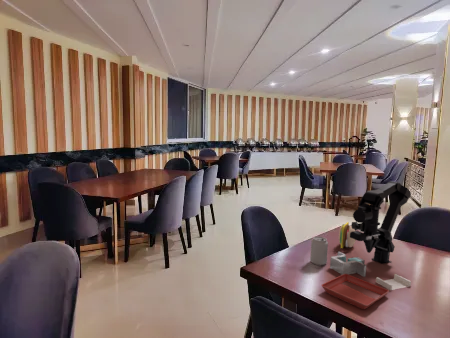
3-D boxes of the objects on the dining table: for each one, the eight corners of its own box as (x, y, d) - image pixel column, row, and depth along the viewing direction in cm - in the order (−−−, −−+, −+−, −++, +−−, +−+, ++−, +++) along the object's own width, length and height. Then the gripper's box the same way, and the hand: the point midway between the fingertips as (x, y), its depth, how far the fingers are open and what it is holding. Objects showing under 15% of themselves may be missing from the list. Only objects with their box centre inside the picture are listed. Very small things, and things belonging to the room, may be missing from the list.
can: (327, 266, 141) (329, 241, 139) (310, 265, 142) (312, 240, 141) (325, 260, 148) (327, 236, 147) (309, 258, 150) (311, 235, 148)
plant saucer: (344, 280, 129) (345, 272, 128) (389, 298, 115) (390, 290, 115) (319, 293, 117) (320, 284, 117) (366, 315, 104) (367, 305, 103)
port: (338, 262, 146) (339, 251, 145) (365, 277, 131) (366, 265, 130) (324, 264, 143) (324, 253, 142) (349, 280, 128) (350, 267, 127)
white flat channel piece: (395, 279, 130) (395, 273, 130) (410, 287, 123) (411, 281, 123) (375, 283, 126) (376, 277, 126) (390, 291, 119) (390, 285, 119)
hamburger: (352, 251, 162) (354, 229, 160) (336, 247, 166) (337, 226, 165) (357, 244, 172) (358, 224, 170) (341, 241, 176) (343, 221, 175)
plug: (357, 266, 142) (357, 257, 142) (363, 270, 138) (364, 260, 138) (344, 268, 140) (345, 258, 139) (351, 272, 136) (352, 262, 135)
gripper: (372, 213, 150) (370, 244, 152) (342, 216, 144) (340, 248, 145) (392, 219, 140) (389, 252, 142) (360, 222, 133) (358, 257, 135)
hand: (368, 252), depth 141 cm, fingers closed
